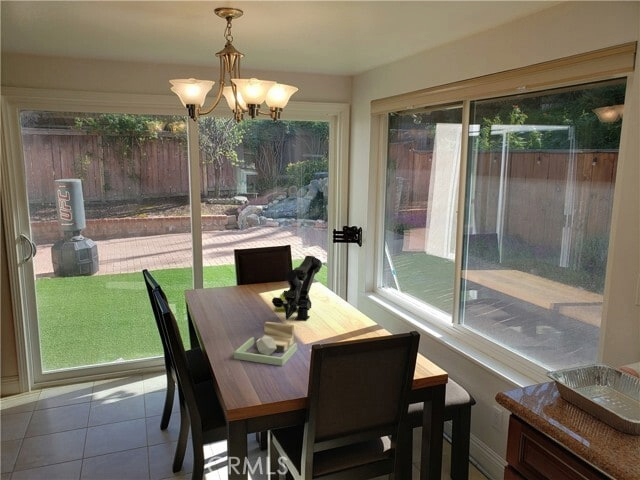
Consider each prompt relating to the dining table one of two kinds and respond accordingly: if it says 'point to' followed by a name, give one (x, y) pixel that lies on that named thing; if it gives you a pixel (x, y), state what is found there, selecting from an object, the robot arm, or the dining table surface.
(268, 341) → the die
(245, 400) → the dining table surface
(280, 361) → the fence
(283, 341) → the block
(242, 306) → the dining table surface
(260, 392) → the dining table surface
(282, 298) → the dish towel
